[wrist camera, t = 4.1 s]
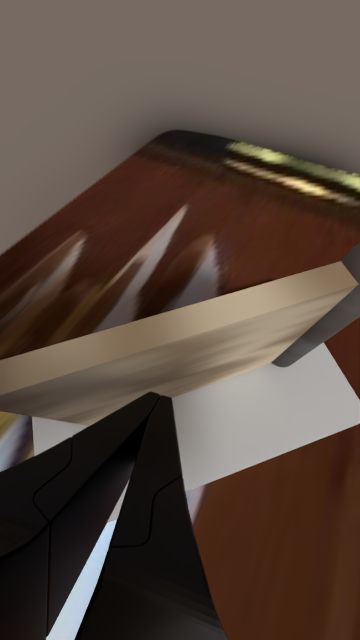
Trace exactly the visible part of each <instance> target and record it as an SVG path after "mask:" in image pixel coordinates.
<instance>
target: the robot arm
mask: <svg viewBox="0 0 360 640" xmlns="http://www.w3.org/2000/svg"><path fill="white" fill-rule="evenodd" d="M128 481H129V483H128ZM127 483H128V486H127V489H126V493H125V496H124V499H123V502H122V506H121V509H120V512H119V515H118V519H117V522H116V525H115V528H114V532H113V535H112V538H111V541H110V545H109V549H108V551H107V554H106V558H105V561H104V564H103V567H102V570H101V573H100V576H99V579H98V582H97V584H96V587H95V590H94V592H93V595H92V597H91V600H90V602H89V605H88V607H87V610H86V612H85V615H84V617H83V620H82V622H81V625H80V627H79V630H78V632H77V635H76V637H75V640H228V638H227V636H226V634H225V632H224V630H223V627H222V625H221V623H220V620H219V618H218V615H217V612H216V609H215V606H214V603H213V600H212V597H211V593H210V590H209V586H208V582H207V579H206V575H205V571H204V568H203V564H202V560H201V556H200V553H199V549H198V545H197V542H196V538H195V534H194V530H193V526H192V522H191V518H190V514H189V509H188V504H187V498H186V493H185V486H184V479H183V473H182V466H181V459H180V451H179V444H178V437H177V430H176V422H175V415H174V408H173V401H172V398H171V397H167V396H164V395H161V396H160V394H158V393H155V392H152V391H150V392H148V393H146V394H144V395H142V396H141V397H139V398H137V399H135V400H134V401H132V402H130V403H128V404H127V405H125V406H123V407H121V408H120V409H118V410H116V411H114V412H113V413H111V414H109V415H107V416H106V417H104V418H102V419H101V420H99V421H97V422H95V423H94V424H92V425H90V426H88V427H87V428H85V429H83V430H81V431H80V432H78V433H76V434H74V435H73V436H72V437H69V438H67V439H65V440H64V441H62V442H60V443H58V444H57V445H55V446H53V447H51V448H49V449H47V450H45V451H44V452H42V453H40V454H38V455H36V456H34V457H32V458H29V459H27V460H25V461H23V462H21V463H19V464H17V465H15V466H13V467H10V468H8V469H6V470H4V471H2V472H0V640H46V637H47V636H48V635H49V633H50V631H51V629H52V627H53V625H54V623H55V621H56V619H57V617H58V616H59V614H60V612H61V610H62V608H63V606H64V604H65V602H66V600H67V598H68V596H69V594H70V593H71V591H72V589H73V587H74V585H75V583H76V581H77V579H78V577H79V575H80V573H81V571H82V570H83V568H84V566H85V564H86V562H87V560H88V558H89V556H90V554H91V552H92V550H93V548H94V546H95V545H96V543H97V541H98V539H99V537H100V535H101V533H102V531H103V529H104V527H105V525H106V523H107V522H108V520H109V518H110V516H111V514H112V512H113V510H114V508H115V506H116V504H117V502H118V500H119V499H120V497H121V495H122V493H123V491H124V489H125V487H126V485H127Z"/></svg>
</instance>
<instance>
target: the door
mask: <svg viewBox="0 0 360 640" xmlns="http://www.w3.org/2000/svg"><path fill="white" fill-rule="evenodd" d="M358 317H360V243H358V244H357V245H355V246H354V247H353V248H352V249H351V250H350V251H349V252H348V254H347V255H346V256H345V257H344V258H343V259H342V260H341V261H340V262H337V263H333V264H330V265H326V266H323V267H319V268H316V269H313V270H309V271H306V272H302V273H299V274H295V275H292V276H289V277H285V278H282V279H278V280H275V281H271V282H268V283H264V284H261V285H258V286H254V287H251V288H247V289H244V290H240V291H237V292H234V293H230V294H227V295H223V296H220V297H216V298H213V299H209V300H206V301H203V302H199V303H196V304H192V305H189V306H185V307H182V308H179V309H175V310H172V311H168V312H165V313H161V314H158V315H154V316H151V317H148V318H144V319H141V320H137V321H134V322H130V323H127V324H124V325H120V326H117V327H113V328H110V329H106V330H103V331H99V332H96V333H93V334H89V335H86V336H82V337H79V338H75V339H72V340H69V341H65V342H62V343H58V344H55V345H51V346H48V347H45V348H41V349H38V350H34V351H31V352H27V353H24V354H20V355H17V356H14V357H10V358H7V359H3V360H0V411H4V412H9V413H15V414H21V415H27V416H33V417H39V418H45V419H51V420H57V421H62V422H68V423H74V424H80V425H86V426H90V425H92V424H94V423H95V422H97V421H99V420H101V419H102V418H104V417H106V416H107V415H109V414H111V413H113V412H114V411H116V410H118V409H120V408H121V407H123V406H125V405H127V404H128V403H130V402H132V401H134V400H135V399H137V398H139V397H141V396H142V395H144V394H146V393H148V392H150V391H152V392H155V393H158V394H160V396H161V395H164V396H167V397H171V398H173V397H176V396H179V395H182V394H185V393H188V392H191V391H194V390H197V389H200V388H203V387H205V386H208V385H211V384H214V383H217V382H220V381H223V380H226V379H229V378H232V377H235V376H238V375H241V374H244V373H247V372H250V371H253V370H256V369H259V368H262V367H265V366H267V365H269V364H270V363H272V364H274V365H275V366H278V367H288V366H290V365H292V364H293V363H295V362H296V361H298V360H299V359H300V358H302V357H303V356H305V355H306V354H307V353H309V352H310V351H312V350H313V349H315V348H316V347H317V346H319V345H320V344H322V343H323V342H324V341H326V340H327V339H329V338H330V337H332V336H333V335H334V334H336V333H337V332H339V331H340V330H341V329H343V328H344V327H346V326H347V325H349V324H350V323H351V322H353V321H354V320H356V319H357V318H358Z"/></svg>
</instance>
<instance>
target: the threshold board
mask: <svg viewBox="0 0 360 640" xmlns="http://www.w3.org/2000/svg"><path fill="white" fill-rule="evenodd" d="M172 401H173V408H174V415H175V422H176V430H177V437H178V444H179V451H180V459H181V466H182V473H183V479H184V486H185V492H187V491H189V490H192V489H194V488H197V487H199V486H202V485H204V484H207V483H209V482H212V481H214V480H217V479H220V478H222V477H225V476H227V475H230V474H232V473H235V472H237V471H240V470H242V469H245V468H248V467H250V466H253V465H255V464H258V463H260V462H263V461H265V460H268V459H270V458H273V457H276V456H278V455H281V454H283V453H286V452H288V451H291V450H293V449H296V448H298V447H301V446H303V445H306V444H309V443H311V442H314V441H316V440H319V439H321V438H324V437H326V436H329V435H331V434H334V433H337V432H339V431H342V430H344V429H347V428H349V427H352V426H354V425H357V424H359V423H360V400H359V399H358V397H357V396H356V394H355V392H354V391H353V389H352V388H351V386H350V384H349V383H348V381H347V380H346V378H345V376H344V375H343V373H342V372H341V370H340V368H339V367H338V365H337V363H336V362H335V360H334V359H333V357H332V355H331V354H330V352H329V351H328V349H327V347H326V346H325V344H324V343H322V344H320V345H319V346H317V347H316V348H315V349H313V350H312V351H310V352H309V353H307V354H306V355H305V356H303V357H302V358H300V359H299V360H298V361H296V362H295V363H293V364H292V365H290V366H288V367H278V366H275V365H274V364H272V363H270V364H269V365H267V366H265V367H262V368H259V369H256V370H253V371H250V372H247V373H244V374H241V375H238V376H235V377H232V378H229V379H226V380H223V381H220V382H217V383H214V384H211V385H208V386H205V387H203V388H200V389H197V390H194V391H191V392H188V393H185V394H182V395H179V396H176V397H173V398H172ZM32 423H33V439H34V456H36V455H38V454H40V453H42V452H44V451H45V450H47V449H49V448H51V447H53V446H55V445H57V444H58V443H60V442H62V441H64V440H65V439H67V438H69V437H72V436H73V435H74V434H76V433H78V432H80V431H81V430H83V429H85V428H87V427H88V426H86V425H80V424H74V423H68V422H62V421H57V420H51V419H45V418H39V417H33V416H32ZM128 483H129V481H128ZM128 483H127V485H126V487H125V489H124V491H123V493H122V495H121V497H120V499H119V500H118V502H117V504H116V506H115V508H114V510H113V512H112V514H111V516H110V518H109V520H108V522H110V521H113V520H115V519H118V515H119V512H120V509H121V506H122V502H123V499H124V496H125V493H126V489H127V486H128ZM108 522H107V523H108Z"/></svg>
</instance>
